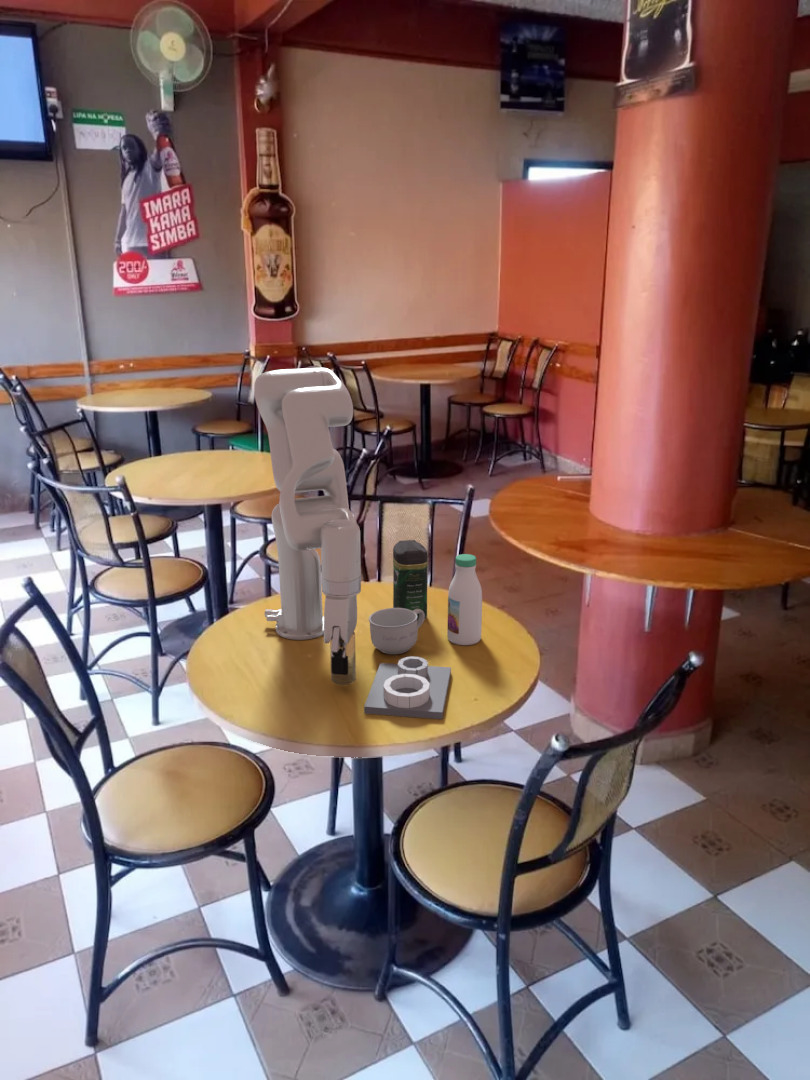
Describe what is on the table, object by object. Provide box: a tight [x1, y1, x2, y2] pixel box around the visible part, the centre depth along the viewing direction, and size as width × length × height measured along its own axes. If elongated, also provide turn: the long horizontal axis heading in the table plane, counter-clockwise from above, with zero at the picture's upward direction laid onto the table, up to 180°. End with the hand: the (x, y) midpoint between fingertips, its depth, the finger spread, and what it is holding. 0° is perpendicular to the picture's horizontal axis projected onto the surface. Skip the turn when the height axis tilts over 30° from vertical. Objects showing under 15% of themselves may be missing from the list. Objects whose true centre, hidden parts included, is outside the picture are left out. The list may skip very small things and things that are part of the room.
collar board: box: [363, 655, 452, 720], centre depth 164 cm, size 15×18×4 cm
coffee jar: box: [392, 539, 429, 621], centre depth 197 cm, size 10×8×19 cm
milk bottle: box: [446, 553, 483, 646], centre depth 184 cm, size 8×8×20 cm
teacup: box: [368, 607, 426, 655], centre depth 183 cm, size 14×11×8 cm
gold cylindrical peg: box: [329, 631, 357, 686], centre depth 164 cm, size 5×5×10 cm
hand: (343, 665), depth 164 cm, fingers closed on gold cylindrical peg, 5 cm apart
